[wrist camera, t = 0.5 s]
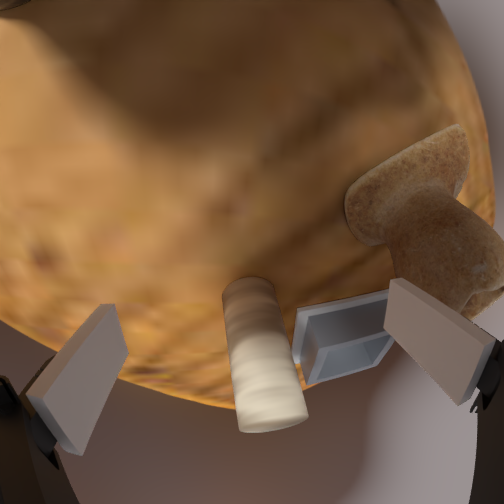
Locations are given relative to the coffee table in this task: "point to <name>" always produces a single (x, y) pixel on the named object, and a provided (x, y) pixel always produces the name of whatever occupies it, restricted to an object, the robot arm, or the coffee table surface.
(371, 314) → the well
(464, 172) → the tan boot
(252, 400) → the peg
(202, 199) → the coffee table surface
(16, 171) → the coffee table surface
